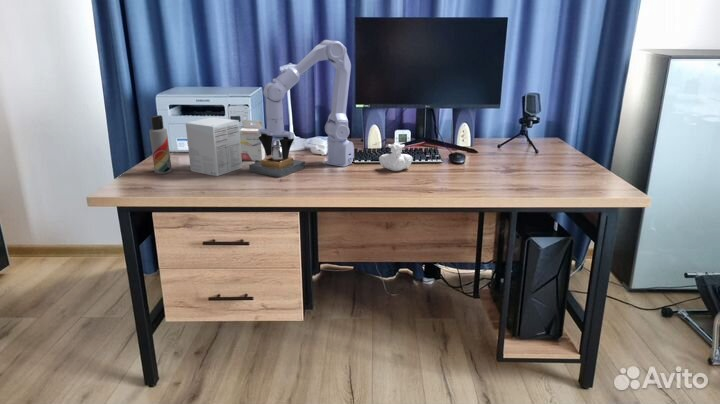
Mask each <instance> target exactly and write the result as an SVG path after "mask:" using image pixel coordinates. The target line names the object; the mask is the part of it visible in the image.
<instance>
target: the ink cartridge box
mask: <svg viewBox="0 0 720 404" xmlns="http://www.w3.org/2000/svg"><path fill="white" fill-rule="evenodd" d="M241 123H242V128H241V129H240V128H239V131H240V145H241V158H242V161H254V162H255V161H256V160H259V161H261V160H263V159H266V153H265V150H264V147H263V145H262V143H261V141H260V140H259V137H260V136H261V135H259V133H258V129H262V128H263V129H264V122H263V120H257V119H255V120H254V119H252V120H251V119H249V120H248V119H243V120H241ZM252 123H253V124H252Z"/></svg>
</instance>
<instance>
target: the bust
mask: <svg viewBox="0 0 720 404" xmlns="http://www.w3.org/2000/svg"><path fill="white" fill-rule="evenodd" d="M387 146H388V148H390V153H385V154H381V155H380V156H379V157H378V161H379V163H380V165H381V167H382V168H383V169H387V170H390V171H393V172H400V171H402V170H405V169H409V168H410V166H411V164H412V162H413V159H414V158H413V156H412V155H410V154H408V153H407V154H406V153H403V149H405V146H406V145H405V144H400V142H393V143H392V144H390V143H389V144H387Z"/></svg>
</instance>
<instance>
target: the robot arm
mask: <svg viewBox="0 0 720 404" xmlns="http://www.w3.org/2000/svg"><path fill="white" fill-rule="evenodd" d="M347 51H348V50H347V47H346V46H345V45H344V43H342V42H341V41H338V40H329V39H324V40H322V41H320V43H319V44H317V45H316V46H314V48H313V49H311V51H310V52H309V53H307V55H305V56H303V57H304V58H302V59H301V60H300V61H299V62H298V63H297V64H296V65H295V66H294V67H288V68H283V69H282V72H281V73H280V74H279V75H278V76H277V77H276V78H273V79H272V80H271V81H272V82H269V83H267V84H265V86H264V88H263V91H262V94H263V96H264V97H265V103H266V105H265V108H266V109H265V111H266V113H265V114H266V126H267V127H266V128H264V127H263V128H262V129H258V133H259V135H261V136H260V137H259V140H260V141H261V143H262V145H263V147H264V150H265V157H266V156H267V157H268V156H272V147H273V137H276V138H281V139H279V140H278V141H279V145H281V147H282V156H283V158H284V159H285V158H288V157H289V154H290V150H291V147H292V145H293V143H294V140H295V132H292V131H288V130H285V124H284V123H285V122H284V104H283V99H284V98H285V95H286V93H287V92H288V91H290V90H291V89H292V88H293V87H294V86H295V85H296V84H297V83H299V82H300V80H301V76H302V74H304V73H305V72H307V70H309V69H310V68H312V67H313V66H314V65H315V64H316V63H317V62H321V61H328V62H329V63H330V64H331V65H332V66H333V67H334V69H335V73H334V83H333V92H332V94H333V95H332V100H331V101H332V102H331V112H330V113H329V115H328V117H327V121H326V123H325V125H324V132H325V133H326V134H327V143H326V144H327V160H326V161H323V162H322V164H324V165H331V166H335V167H336V166H337V167H342V168H345V167H347V166H350V165H351V164H353V163H352V161H353V158H354V159H355V146H354V143H353V142H352V141H349V140H348V137H349V135H350V128H349V120H348V116H347V106H348V97H349V87H350V77H351V69H352V63H351V59H350V58H349V55H348V52H347Z"/></svg>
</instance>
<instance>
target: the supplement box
mask: <svg viewBox="0 0 720 404" xmlns="http://www.w3.org/2000/svg"><path fill="white" fill-rule="evenodd" d="M185 128H186V129H185V130H186V139H187V140H186V141H187V146H188V157H189V166H190V167H189V168H190V169H189V170H190V171H191V172H193V173H198V174H203V175H209V176H213V177H214V176H215V177H219V176H222V175H225V174H228V173H231V172H234V171H237V170H240V169H243V160H242V158H241V145H240V131H239V130H240V120H238V119H229V118H220V117H214V116H213V117H206V118H200V119H197V120H192V121H188V122H185Z"/></svg>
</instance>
